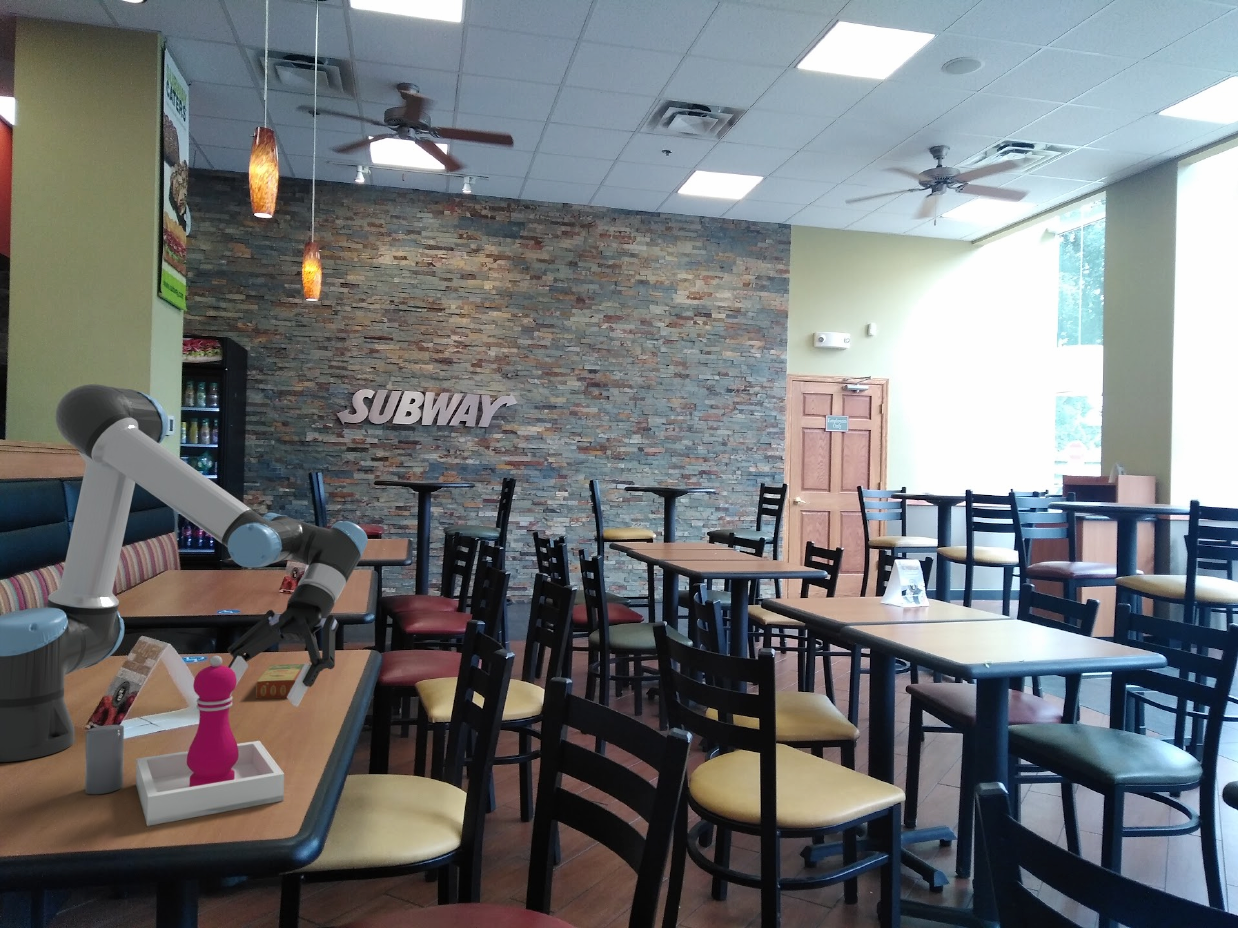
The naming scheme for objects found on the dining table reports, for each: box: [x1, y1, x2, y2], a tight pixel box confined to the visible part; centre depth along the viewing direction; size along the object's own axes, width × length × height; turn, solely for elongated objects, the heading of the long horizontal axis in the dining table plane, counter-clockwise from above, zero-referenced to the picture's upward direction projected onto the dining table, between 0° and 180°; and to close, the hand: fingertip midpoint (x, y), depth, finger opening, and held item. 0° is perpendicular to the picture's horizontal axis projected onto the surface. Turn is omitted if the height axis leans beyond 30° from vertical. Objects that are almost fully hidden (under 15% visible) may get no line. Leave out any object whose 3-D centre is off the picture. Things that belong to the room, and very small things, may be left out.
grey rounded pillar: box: [84, 724, 125, 795], centre depth 130 cm, size 5×5×9 cm
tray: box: [135, 740, 285, 827], centre depth 130 cm, size 18×18×4 cm
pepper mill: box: [187, 655, 239, 787], centre depth 130 cm, size 7×7×20 cm
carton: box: [255, 663, 305, 700], centre depth 190 cm, size 8×16×4 cm, turn 12°
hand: (257, 697), depth 139 cm, fingers open, 13 cm apart
